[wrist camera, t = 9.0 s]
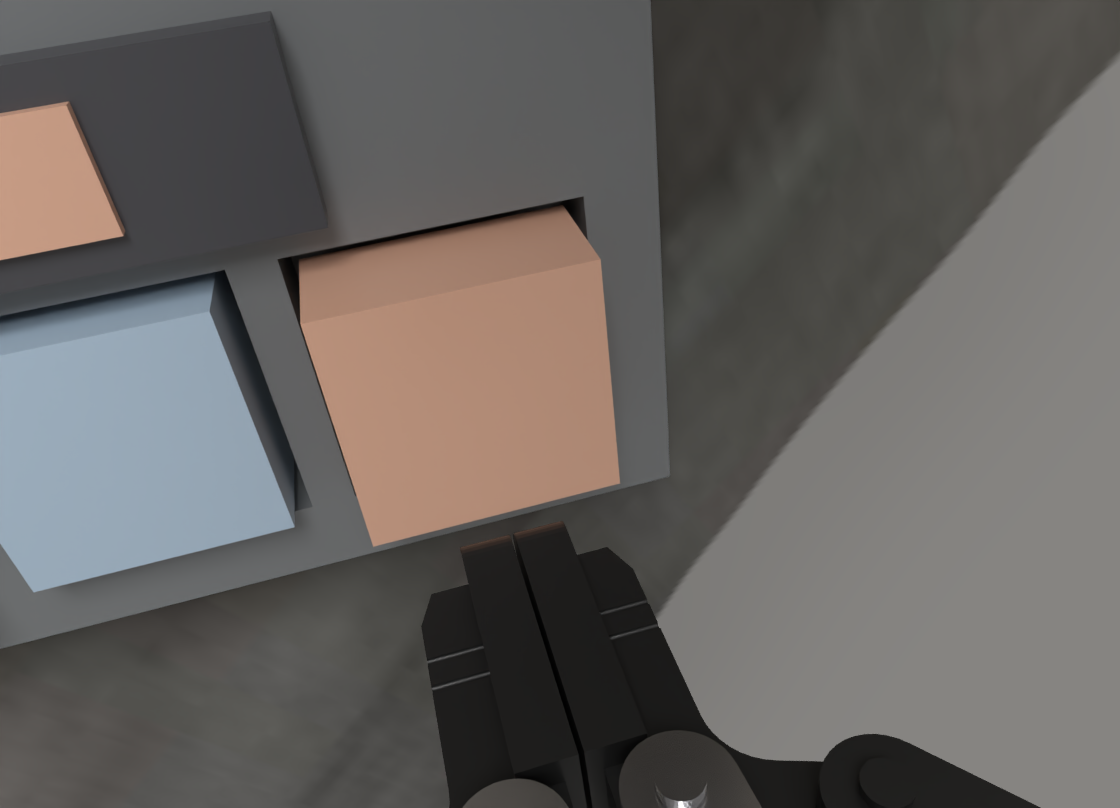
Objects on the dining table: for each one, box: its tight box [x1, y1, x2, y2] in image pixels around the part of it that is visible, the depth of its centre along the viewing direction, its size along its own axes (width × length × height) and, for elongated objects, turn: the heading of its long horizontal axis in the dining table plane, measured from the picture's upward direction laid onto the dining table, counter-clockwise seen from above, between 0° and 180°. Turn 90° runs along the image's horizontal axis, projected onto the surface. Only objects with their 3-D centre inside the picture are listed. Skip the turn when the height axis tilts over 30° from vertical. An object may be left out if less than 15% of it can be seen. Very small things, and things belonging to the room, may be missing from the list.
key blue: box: [0, 270, 295, 592], centre depth 17 cm, size 5×5×2 cm
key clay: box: [299, 205, 620, 547], centre depth 17 cm, size 5×5×2 cm
